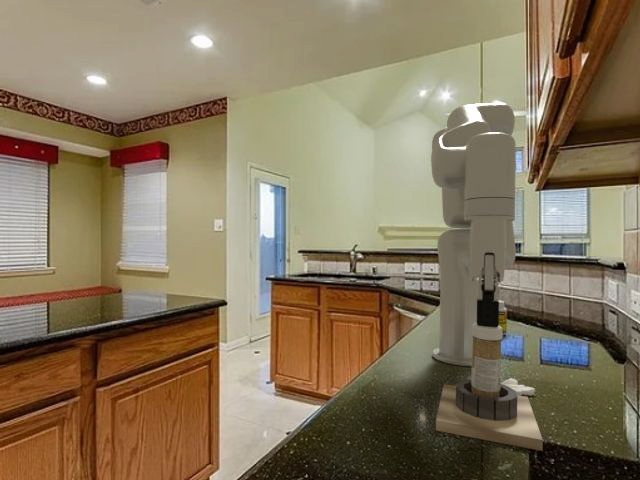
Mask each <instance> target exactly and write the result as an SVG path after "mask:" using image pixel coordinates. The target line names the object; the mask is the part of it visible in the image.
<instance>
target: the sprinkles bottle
mask: <svg viewBox="0 0 640 480" xmlns="http://www.w3.org/2000/svg"><path fill="white" fill-rule="evenodd" d="M472 336H473V353H472V366H471V378H470V379H471V385H472V392H471V393H474V394H477V395H479V396H485V397H492V398H496V397H500V386H501V383H502V382H501V381H502V380H501V378H502V377H501V376H502V374H501V372H502V339H503V336H504V335H503V329H502V327H501V326H498V327H489V326H479V325H477V323H474V324H473V325H472Z"/></svg>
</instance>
